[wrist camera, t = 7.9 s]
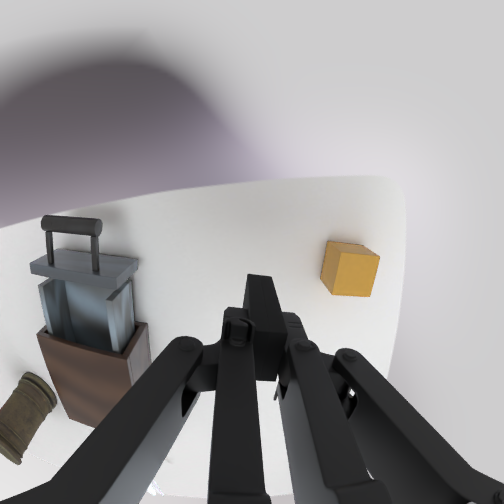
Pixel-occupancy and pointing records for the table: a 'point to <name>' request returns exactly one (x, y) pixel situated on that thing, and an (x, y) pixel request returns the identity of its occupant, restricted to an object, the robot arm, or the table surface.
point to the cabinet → (93, 373)
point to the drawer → (85, 289)
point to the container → (24, 415)
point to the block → (349, 269)
